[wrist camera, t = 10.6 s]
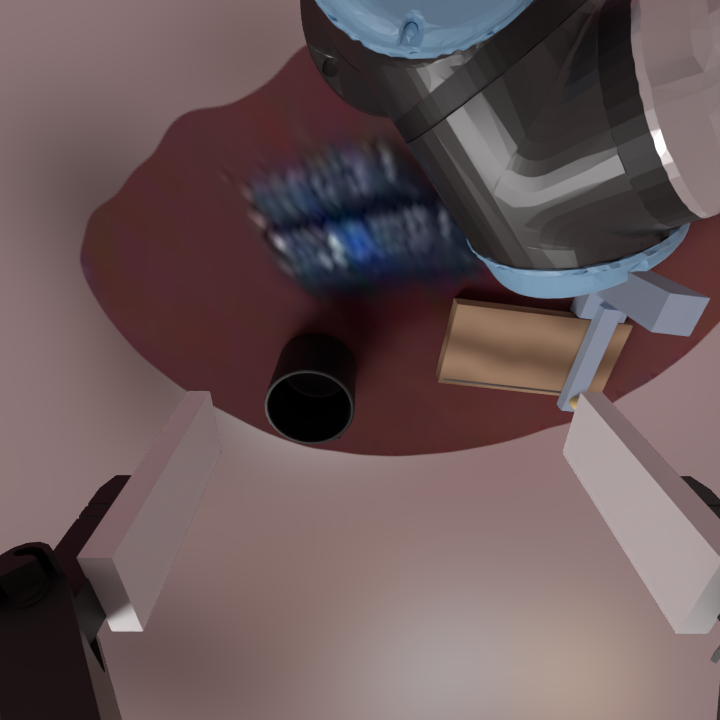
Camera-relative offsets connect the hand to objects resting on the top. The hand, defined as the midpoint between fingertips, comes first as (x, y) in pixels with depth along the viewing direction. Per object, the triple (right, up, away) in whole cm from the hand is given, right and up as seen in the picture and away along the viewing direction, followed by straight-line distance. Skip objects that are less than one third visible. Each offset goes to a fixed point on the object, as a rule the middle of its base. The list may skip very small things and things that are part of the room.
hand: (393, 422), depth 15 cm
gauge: (+25, +6, +34) cm, 43 cm away
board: (+19, +4, +35) cm, 40 cm away
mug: (-6, 0, +37) cm, 38 cm away
